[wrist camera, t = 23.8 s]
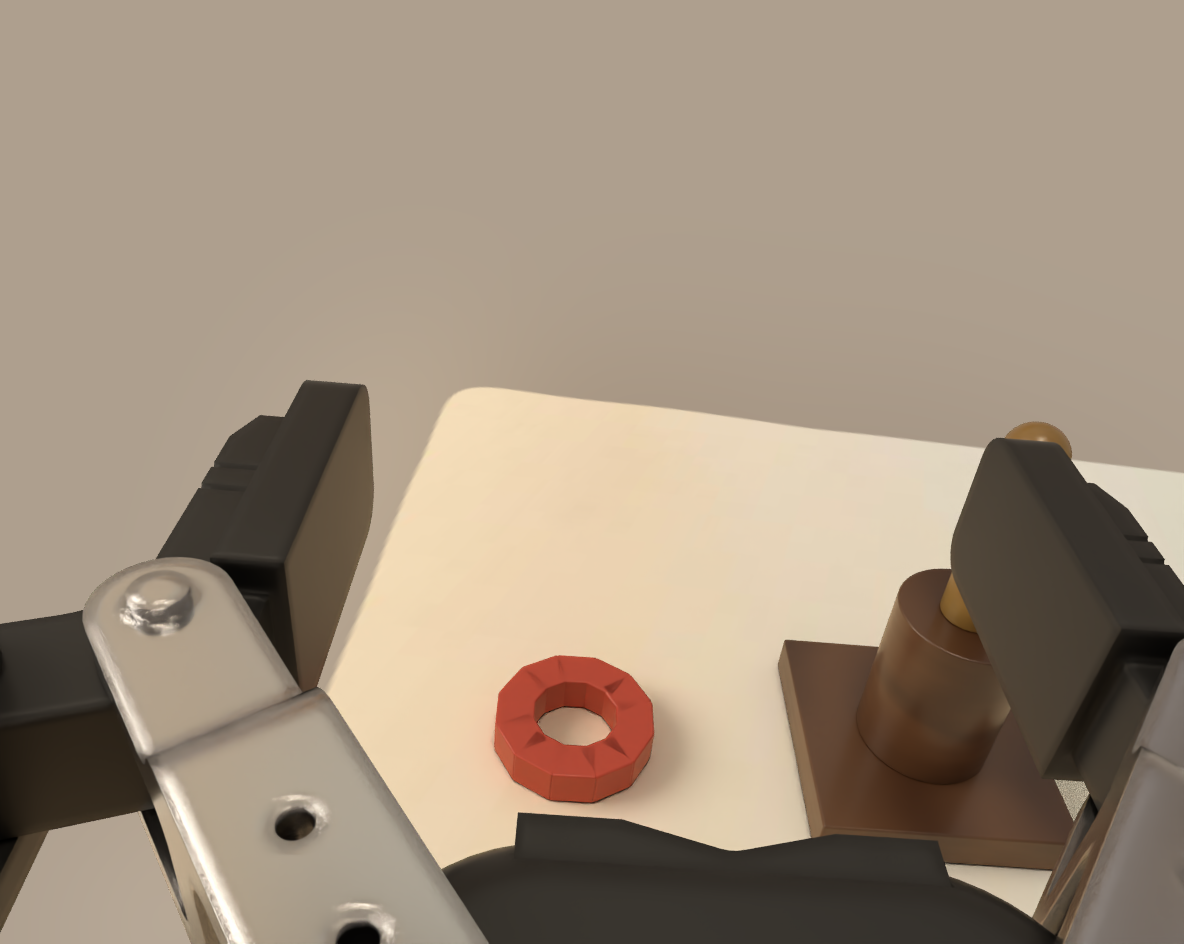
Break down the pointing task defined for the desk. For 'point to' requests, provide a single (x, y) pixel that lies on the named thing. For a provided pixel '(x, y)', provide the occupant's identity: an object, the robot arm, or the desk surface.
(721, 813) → the desk surface
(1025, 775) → the ring stand
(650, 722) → the ring
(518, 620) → the desk surface
